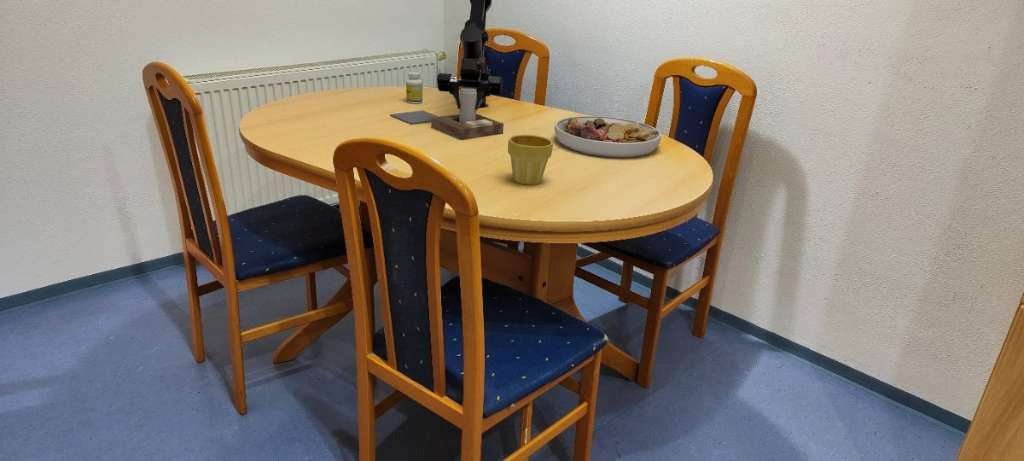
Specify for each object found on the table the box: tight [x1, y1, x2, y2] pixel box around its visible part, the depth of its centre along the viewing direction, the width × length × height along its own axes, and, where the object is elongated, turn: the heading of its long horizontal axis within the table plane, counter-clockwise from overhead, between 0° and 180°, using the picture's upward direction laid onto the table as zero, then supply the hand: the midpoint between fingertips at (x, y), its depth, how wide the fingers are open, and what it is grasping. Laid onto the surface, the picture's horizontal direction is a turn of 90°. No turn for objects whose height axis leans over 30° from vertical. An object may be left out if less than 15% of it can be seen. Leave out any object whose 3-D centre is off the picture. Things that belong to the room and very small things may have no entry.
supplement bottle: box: [405, 71, 424, 105], centre depth 224 cm, size 5×5×10 cm
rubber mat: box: [389, 109, 440, 126], centre depth 206 cm, size 12×12×1 cm
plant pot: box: [507, 133, 554, 186], centre depth 156 cm, size 10×10×10 cm
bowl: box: [554, 115, 662, 159], centre depth 190 cm, size 30×30×8 cm
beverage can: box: [458, 87, 477, 124], centre depth 194 cm, size 5×5×12 cm
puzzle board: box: [430, 113, 505, 141], centre depth 196 cm, size 15×15×4 cm
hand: (467, 109), depth 193 cm, fingers closed on beverage can, 5 cm apart
